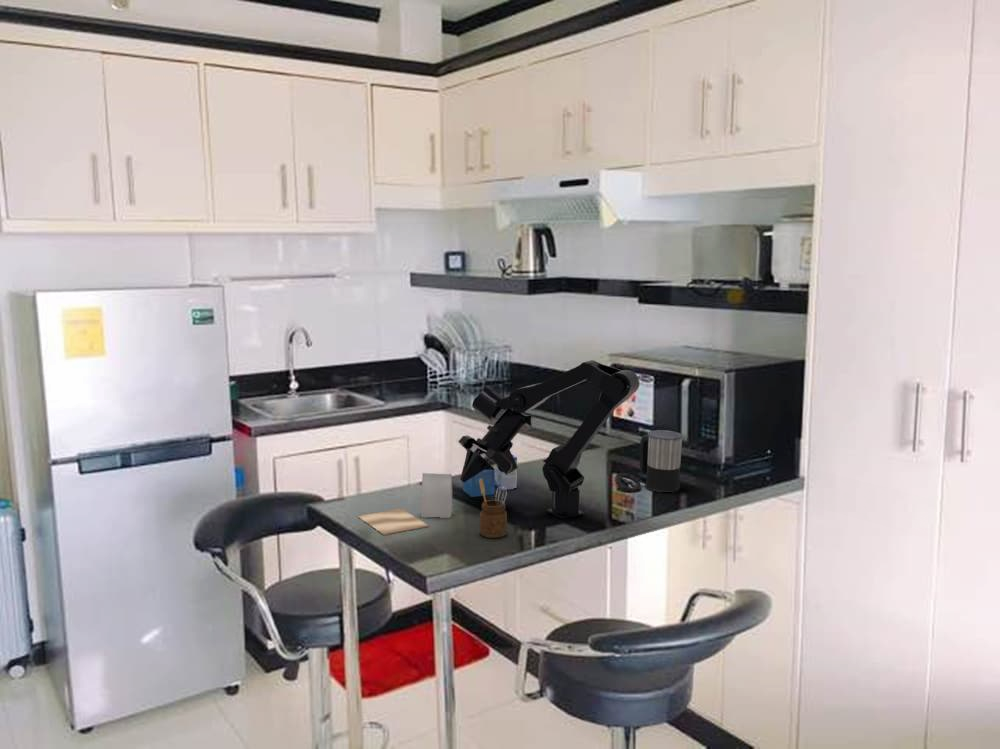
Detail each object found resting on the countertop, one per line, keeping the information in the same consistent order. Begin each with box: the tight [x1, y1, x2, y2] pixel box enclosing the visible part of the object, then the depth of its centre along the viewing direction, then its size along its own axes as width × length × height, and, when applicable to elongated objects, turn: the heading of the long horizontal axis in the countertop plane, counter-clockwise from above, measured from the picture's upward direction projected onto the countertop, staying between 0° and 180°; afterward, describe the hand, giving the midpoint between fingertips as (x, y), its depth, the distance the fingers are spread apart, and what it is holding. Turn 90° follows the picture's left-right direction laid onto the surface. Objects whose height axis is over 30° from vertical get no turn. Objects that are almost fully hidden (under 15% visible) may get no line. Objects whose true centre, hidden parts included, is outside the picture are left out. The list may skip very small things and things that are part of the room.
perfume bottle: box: [462, 465, 495, 498], centre depth 209 cm, size 6×6×12 cm
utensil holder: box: [479, 478, 508, 539], centre depth 178 cm, size 6×6×12 cm
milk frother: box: [614, 429, 684, 493], centre depth 215 cm, size 14×16×15 cm
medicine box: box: [493, 454, 518, 491], centre depth 216 cm, size 8×4×9 cm, turn 21°
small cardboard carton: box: [420, 472, 453, 519], centre depth 190 cm, size 4×7×10 cm, turn 87°
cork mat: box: [357, 508, 430, 536], centre depth 186 cm, size 14×11×1 cm
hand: (462, 481), depth 194 cm, fingers closed
